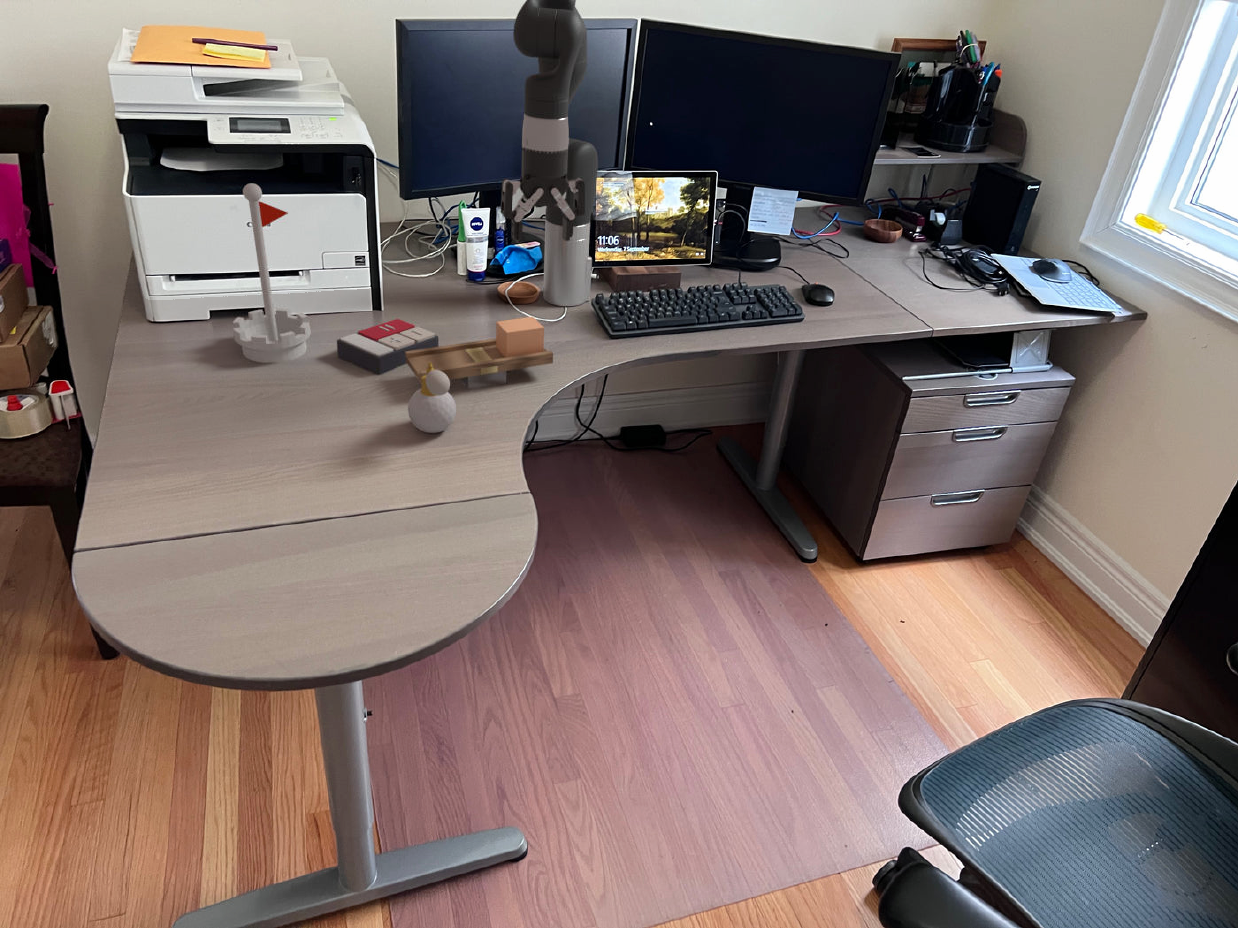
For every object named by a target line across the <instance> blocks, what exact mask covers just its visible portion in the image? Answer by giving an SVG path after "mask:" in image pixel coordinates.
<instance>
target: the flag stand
mask: <svg viewBox="0 0 1238 928" xmlns="http://www.w3.org/2000/svg"><path fill="white" fill-rule="evenodd" d="M242 194H243V197H244V198H245V199H246V200H247V201H248V202H249V203H248V204H249V205H248V206H249V212H250V218H251V226H252V232H253V238H254V239H253V240H254V245H255V252H256V261H257V265H258V267H257V268H258V272H259V280H260V284H261V293H262V299H263V306H264V311H263V309H257V310H256V309H255V310H253V311H249V312H248V318H247V319H245V318H244V317H241V316H238V317H236V318H235V319H234V320H233V321H232V332H233V339H234V341H235V342H236V344H238V345H240V346H241V349H242V350H241V351H242V354H243V356H244V357H245V358H247V359H248V360H250V361H253V362H257V363H264V364H270V363H271V364H275V363H284V362H288V361H292V360H295V359H297V358H300V357H301V356H303V355H304V354H305V353H306V352H307V340H308V339H309V338H310V337H311V332H312V330H311V324H310V322H309V316H307V314H305V313H303V312H297V313H296V315H292V313H291V312H292V311H291V309H290V308H279V307H277V308H274V300H273V294H272V287H271V281H270V279H271V278H270V273H269V267H268V265H269V264H268V260H267V259H268V258H267V257H268V256H267V252H266V245H265V237H264V236H265V235H264V230H263V228H264V227H266V226H267V225H270V224H271V223H273V222H275V221H277V220H279V219H280V218H282V217H284V216H285V215H288V214H289V212H288V211H285V210H282V209H280V208H277V207H274V206H272V205H270V204H268V203H264V202H262V201H260V200H261V198H262V197H263V196H262V195H263V192H262V188H261V187H260V186H259V185H258V184H257V183H250V182H249V183H247V184H246V185H245V186H244V187H243V189H242ZM264 312H265V314H264Z"/></svg>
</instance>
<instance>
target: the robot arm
mask: <svg viewBox="0 0 1238 928" xmlns="http://www.w3.org/2000/svg"><path fill="white" fill-rule="evenodd" d="M576 1H577V0H526V1H525V2H524V3H523V4H522V6H521V7H520V9H519V11H518V13H517V15H516V18H515V20H514V24H513V32H512V33H513V35H512V37H513V41H514V44H515V46H516V49H517V50H518V51H519V52H520V54H521V55H523V56H526V57H527V58H528V57H529V58H537V62H538V73H534V74H531V75H529V76H527V78H526V80H525V83H524V112H523V113H524V114H523V122H522V135H521V177H520V179H519V181H516V180H509V179H508V178H504V179H502V182H501V183H502V184H501V195H500V196H501V197H500V198H501V200H500V213H501V215H502V216H503V217H504V218H505V219H507V220H511V237H512V239H514V241H515V242H516V243H517V244H523V227H524V225H523V221H522V220H523V218H524V217H525V216H526V214H527V213H529V212H530V211H531V209H532V208H533V207H535V208H536V209H537V208H543V207H546V208H545V222H544V223H545V224H544V225H545V229H544V255H543V256H544V259H543V262H544V263H543V265H544V266H543V287H542V288H543V291H542V292H543V297H542V298H543V300H544V301H545V302H547V303H549V304H551V305H555V306H561V307H572V306H573V307H574V306H579V305H581V304H584V303H585V302H589V301H590V297H591V285H592V284H591V283H592V265H593V264H592V263H593V259H592V257H591V256H590V255H589V250H590V246H589V245H590V233H591V232H590V230H591V216H592V211H593V210H594V208H593V207H594V204H595V197H596V186H597V180H598V179H597V178H598V169H599V166H598V165H599V159H598V153H597V150H596V147H595V146H594V145H593V144H592V143H590V142H587V141H584V140H581V139H580V140H579V139H575V138H571V137H569V136H570V135H569V131H570V130H569V117H568V115H569V106H570V104H571V102H572V99H573V98H574V96H575V94H576V93H577V91H578V89H579V88H580V85H581V84H582V82H583V79H584V78H585V74H586V72H587V69H588V67H587V66H588V33H587V32H588V31H587V27H586V24H585V21H584V20H583V18H582V16H581V14H580V13H579V10H578V9H577V7H576ZM518 189H519V190H520V191H521V193H522V196H520V198H519V199H518V201H517V204H516V205H515V207H514V208H513V197H514V196H515V195H516V193H517V190H518ZM564 195H565V196H564ZM564 197H565V198H564ZM512 208H513V210H512Z"/></svg>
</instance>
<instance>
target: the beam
mask: <svg viewBox="0 0 1238 928" xmlns="http://www.w3.org/2000/svg"><path fill="white" fill-rule="evenodd" d="M405 355H406V363H405V364H407V366H408V367H409V368H410V370H411V371H412V373H413V374H414V375H415V377H416V378H417V380H418V381H419V382H420V384H421V385H422V377H423V376H425V375H427V372H426V370H427V368H428V364H429V362H431V364H432V366H433V367H432V368H433V369H434V370H439V371H441V372H443V373H444V374H446V375H447V377H448V378H449V380H450V381H452V380H458V379H459V380H460V381H461V382H462V383H463V385H464V386H465V387H466V388H467V390H473V389H480V388H484V387H485V388H486V387H490V386H497V385H502V384H503V385H504V384H507V371H513V370H518V369H519V370H520V369H526V368H530V367H531V368H532V367H537V366H543V365H545V366H546V365H550V364H553V361H554V352H553V351H552V350H546V349H545V347H543V352H539V353H533V354H526V355H520V356H513V357H507V358H505V357H504V355H503V354H502V353H501V352H500V351H499V350H498V349H497V348H496V337H495V338H488V339H483V340H482V339H481V340H476V341H469V342H462V343H455V344H449V345H448V344H447V345H441V346H438V347H433V348H426V349H419V350H412V351H405Z"/></svg>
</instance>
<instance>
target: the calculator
mask: <svg viewBox="0 0 1238 928" xmlns="http://www.w3.org/2000/svg"><path fill="white" fill-rule="evenodd" d="M336 347H337V348H336V349H337V350H336V351H337V358H338V359H341V360H343V361H345V362H347V363H349V364H352V365H353V366H355V367H358V368H361V369H363V370H365V371H367V372H369V373H372V374H374V375H376V376H382V375H384V374H386V373H389V372H391V371H392V370H395V369H397V368H398V367H399V366H402V365H404V364H407V363H406V355H405V351H412V350H419V349H426V348H433V347H439V336H438V335H436V333H435V332H432V331H430V330H428V329H425V328H422V327H419V326H415V325H414V324H412V323H410V322H408V321H405V320H402V319H399V318H396V319H392V320H390V321H387V322H383V323H380V324H377V325H374V326H371V327H367V328H365V329H361V330H359V331H358V332H357V333H355V332H354V333H351V334H349V335H346V336H343V337H340V338H339V339H336Z"/></svg>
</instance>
